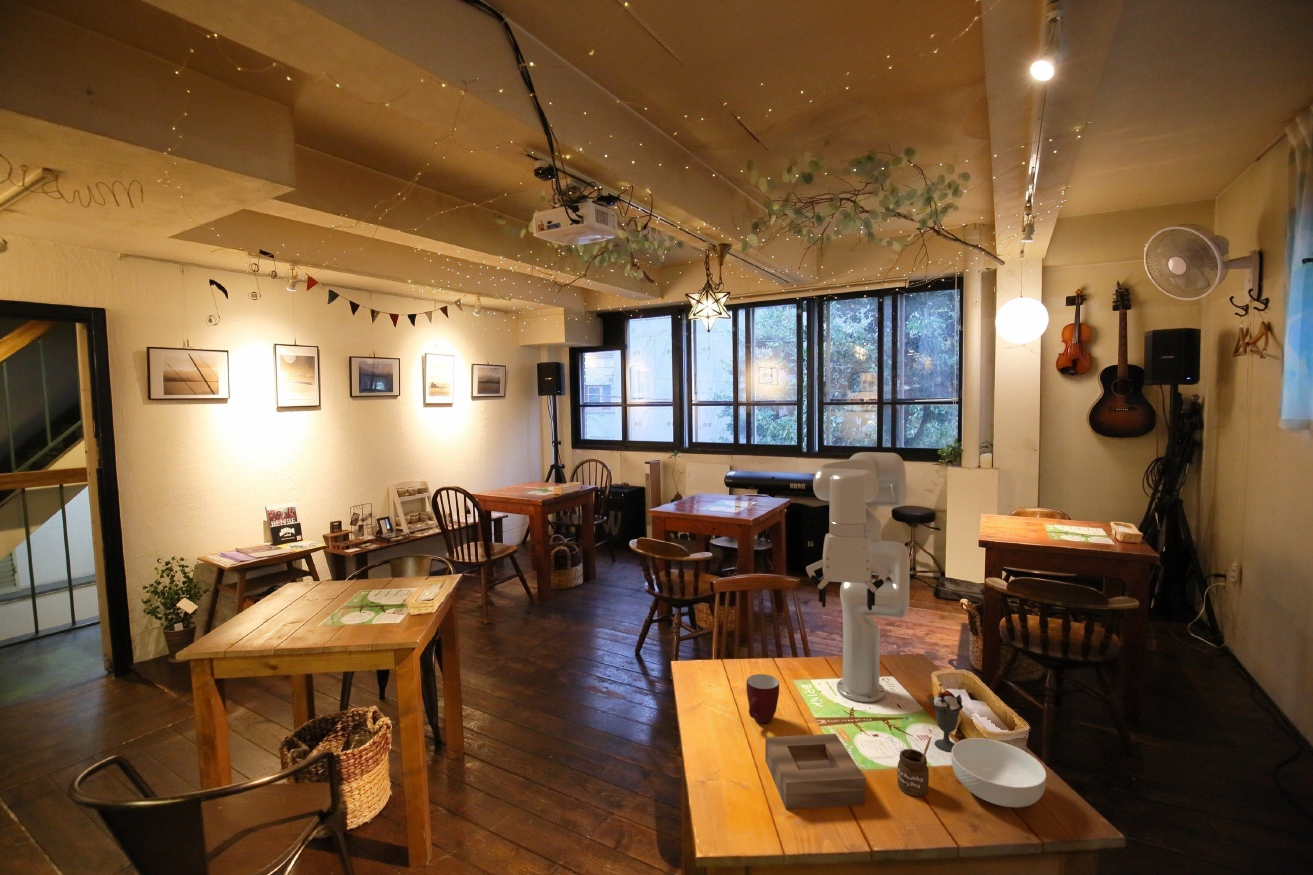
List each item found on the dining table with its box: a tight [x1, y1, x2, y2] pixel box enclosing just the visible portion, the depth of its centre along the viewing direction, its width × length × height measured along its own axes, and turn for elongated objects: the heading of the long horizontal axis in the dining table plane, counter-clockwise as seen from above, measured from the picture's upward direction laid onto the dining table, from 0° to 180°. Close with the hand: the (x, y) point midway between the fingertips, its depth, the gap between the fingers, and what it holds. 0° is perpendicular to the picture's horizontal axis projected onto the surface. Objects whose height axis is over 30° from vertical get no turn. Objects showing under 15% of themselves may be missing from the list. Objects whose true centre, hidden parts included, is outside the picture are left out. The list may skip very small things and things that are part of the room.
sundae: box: [930, 683, 964, 753], centre depth 139 cm, size 7×7×15 cm
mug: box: [745, 673, 780, 725], centre depth 151 cm, size 10×8×10 cm
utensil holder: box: [896, 732, 932, 797], centre depth 124 cm, size 6×6×12 cm
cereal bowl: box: [950, 737, 1048, 808], centre depth 123 cm, size 17×17×7 cm
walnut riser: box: [764, 733, 866, 810], centre depth 127 cm, size 16×16×6 cm
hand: (846, 606), depth 133 cm, fingers open, 9 cm apart
